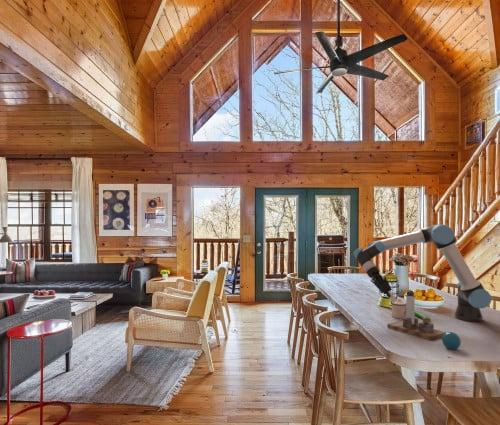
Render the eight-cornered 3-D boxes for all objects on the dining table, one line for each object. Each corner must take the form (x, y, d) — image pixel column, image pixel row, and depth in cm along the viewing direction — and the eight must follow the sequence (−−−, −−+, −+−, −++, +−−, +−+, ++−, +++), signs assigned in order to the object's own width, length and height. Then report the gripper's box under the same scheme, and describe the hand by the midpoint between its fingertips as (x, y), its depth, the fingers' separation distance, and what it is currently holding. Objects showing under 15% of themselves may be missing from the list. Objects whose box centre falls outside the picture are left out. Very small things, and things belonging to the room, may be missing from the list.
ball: (442, 350, 163) (442, 333, 163) (441, 345, 170) (440, 328, 170) (462, 353, 160) (462, 335, 160) (459, 347, 167) (459, 330, 167)
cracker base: (387, 327, 198) (387, 311, 198) (401, 323, 206) (401, 308, 206) (431, 340, 176) (431, 322, 177) (446, 335, 184) (445, 318, 184)
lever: (405, 323, 194) (404, 289, 195) (409, 322, 196) (409, 289, 197) (411, 325, 191) (411, 291, 192) (415, 324, 193) (415, 290, 194)
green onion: (431, 323, 211) (404, 308, 241) (431, 317, 211) (404, 303, 241) (423, 323, 211) (397, 308, 241) (423, 317, 211) (397, 303, 241)
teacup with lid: (408, 319, 216) (407, 300, 216) (392, 318, 218) (392, 299, 218) (404, 314, 227) (404, 296, 228) (389, 313, 230) (389, 296, 230)
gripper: (374, 272, 222) (397, 303, 207) (360, 273, 215) (383, 306, 200) (381, 265, 218) (405, 296, 203) (367, 266, 211) (391, 298, 196)
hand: (394, 301), depth 202 cm, fingers closed
